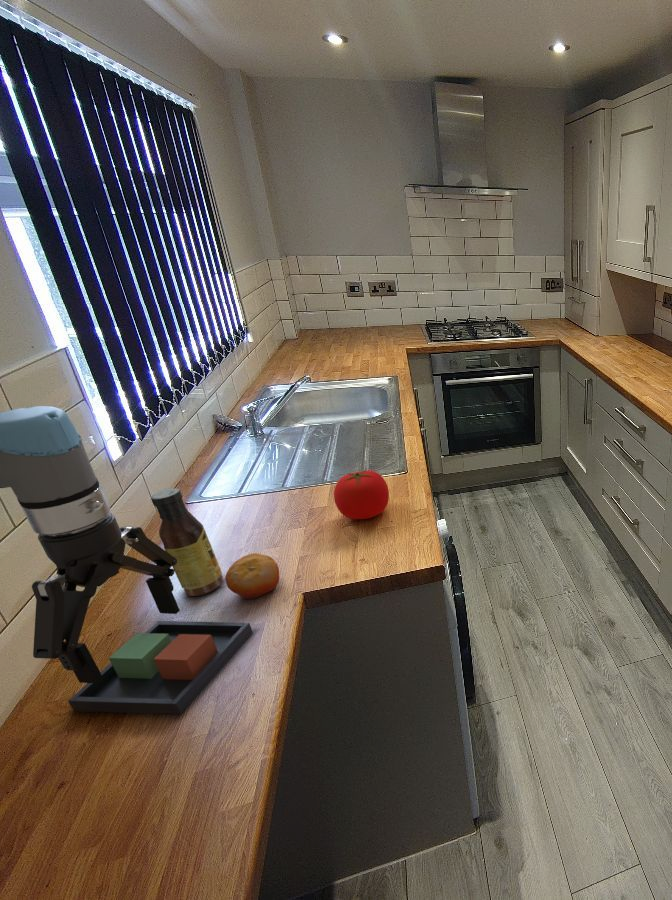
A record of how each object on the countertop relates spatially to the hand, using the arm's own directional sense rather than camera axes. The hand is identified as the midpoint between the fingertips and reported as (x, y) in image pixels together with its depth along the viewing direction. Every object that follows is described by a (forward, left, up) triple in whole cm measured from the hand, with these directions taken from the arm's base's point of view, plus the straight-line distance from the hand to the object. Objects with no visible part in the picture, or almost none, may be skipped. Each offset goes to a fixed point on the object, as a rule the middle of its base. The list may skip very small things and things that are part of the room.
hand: (134, 643), depth 78 cm
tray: (+4, 0, -5) cm, 6 cm away
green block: (+1, 0, -4) cm, 4 cm away
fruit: (+6, +18, -5) cm, 20 cm away
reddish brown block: (+7, 0, -4) cm, 9 cm away
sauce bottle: (-5, +19, -5) cm, 20 cm away
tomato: (+14, +45, -5) cm, 47 cm away
